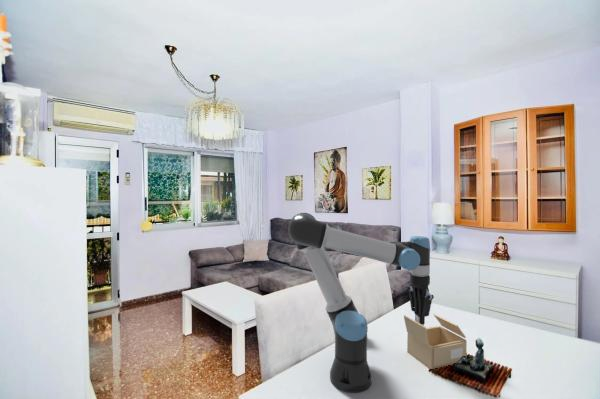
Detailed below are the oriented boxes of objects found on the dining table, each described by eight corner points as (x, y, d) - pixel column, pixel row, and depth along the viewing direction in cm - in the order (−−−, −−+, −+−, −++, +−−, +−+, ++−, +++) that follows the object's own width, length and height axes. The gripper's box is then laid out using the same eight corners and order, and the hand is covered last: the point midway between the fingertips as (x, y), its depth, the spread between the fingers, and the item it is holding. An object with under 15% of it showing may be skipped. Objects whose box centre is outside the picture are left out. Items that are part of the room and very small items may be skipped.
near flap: (428, 345, 118) (424, 327, 117) (407, 331, 129) (403, 315, 128) (429, 344, 118) (425, 327, 117) (408, 331, 129) (404, 314, 129)
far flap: (465, 338, 124) (456, 326, 122) (441, 325, 136) (433, 314, 134) (465, 337, 124) (457, 325, 122) (442, 324, 136) (434, 313, 134)
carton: (433, 371, 116) (433, 348, 116) (406, 351, 131) (406, 331, 131) (467, 363, 122) (468, 341, 122) (438, 344, 137) (438, 325, 137)
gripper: (439, 277, 118) (439, 336, 119) (416, 269, 131) (416, 322, 131) (424, 279, 116) (424, 339, 116) (402, 271, 128) (402, 325, 129)
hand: (419, 330), depth 124 cm, fingers closed
